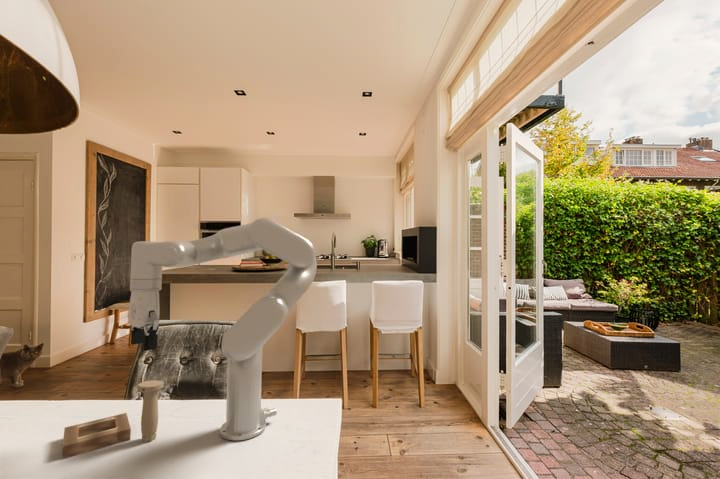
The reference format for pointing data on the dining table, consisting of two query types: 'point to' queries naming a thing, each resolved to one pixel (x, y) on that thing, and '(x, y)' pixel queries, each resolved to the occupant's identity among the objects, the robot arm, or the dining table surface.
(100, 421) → the wooden frame
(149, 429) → the handle
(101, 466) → the dining table surface
